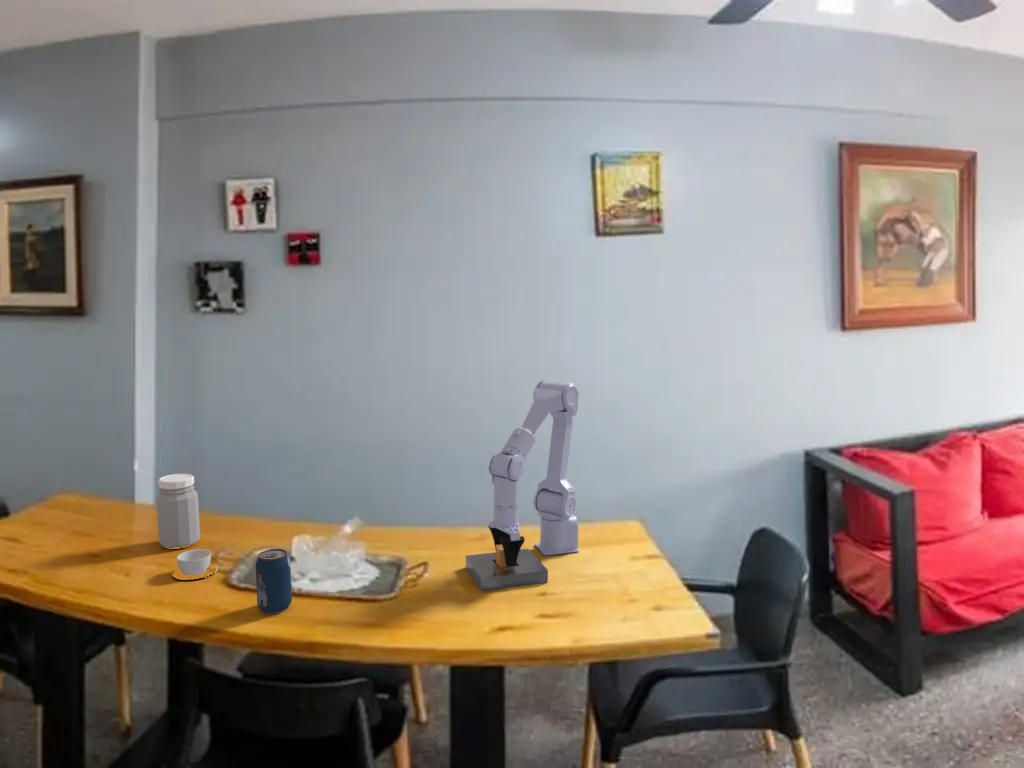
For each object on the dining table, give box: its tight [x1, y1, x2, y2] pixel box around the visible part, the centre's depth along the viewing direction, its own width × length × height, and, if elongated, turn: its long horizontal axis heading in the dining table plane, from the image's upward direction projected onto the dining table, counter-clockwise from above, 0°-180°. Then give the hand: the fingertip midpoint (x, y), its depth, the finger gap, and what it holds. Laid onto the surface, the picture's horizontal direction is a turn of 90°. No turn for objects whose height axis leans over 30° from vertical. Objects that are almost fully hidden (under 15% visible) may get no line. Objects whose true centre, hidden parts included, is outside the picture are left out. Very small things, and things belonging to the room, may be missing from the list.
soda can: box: [255, 548, 293, 615], centre depth 149 cm, size 7×7×12 cm
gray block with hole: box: [465, 548, 549, 592], centre depth 167 cm, size 16×14×3 cm
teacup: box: [176, 548, 219, 578], centre depth 167 cm, size 10×10×5 cm
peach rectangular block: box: [495, 544, 513, 568], centre depth 167 cm, size 4×4×7 cm
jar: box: [156, 473, 201, 548], centre depth 184 cm, size 10×10×18 cm
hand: (505, 559), depth 167 cm, fingers open, 7 cm apart
